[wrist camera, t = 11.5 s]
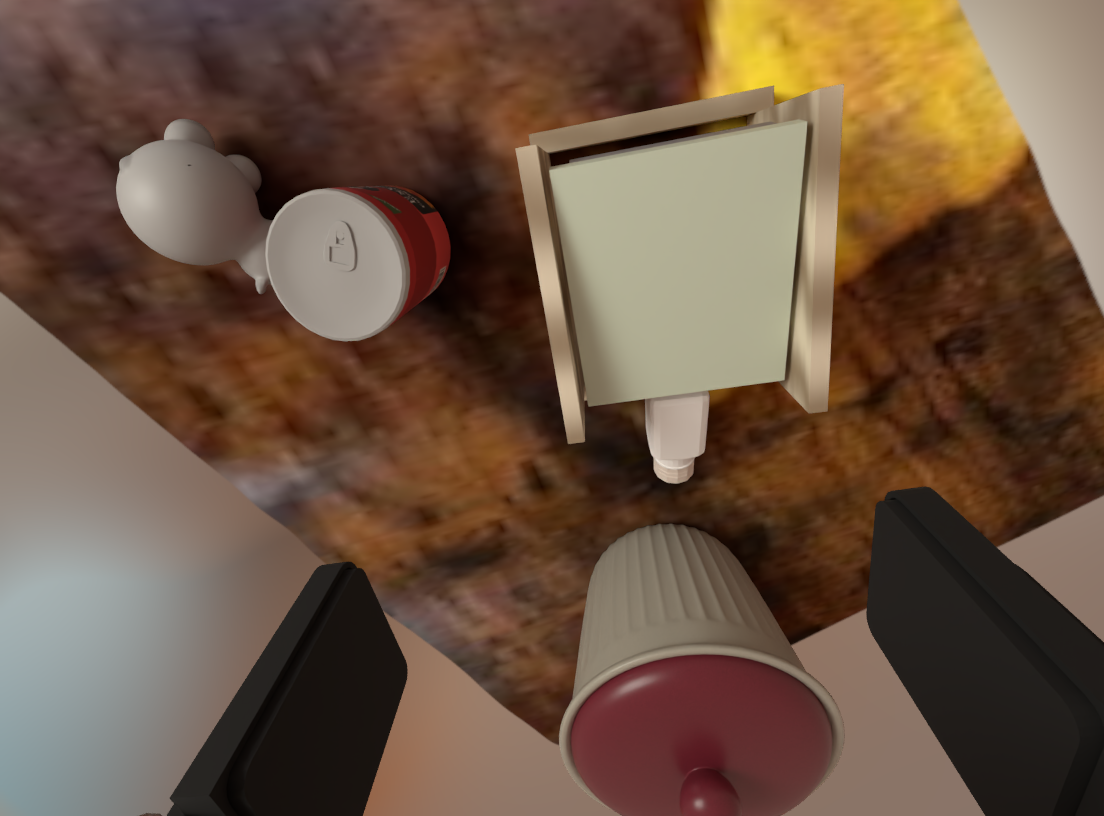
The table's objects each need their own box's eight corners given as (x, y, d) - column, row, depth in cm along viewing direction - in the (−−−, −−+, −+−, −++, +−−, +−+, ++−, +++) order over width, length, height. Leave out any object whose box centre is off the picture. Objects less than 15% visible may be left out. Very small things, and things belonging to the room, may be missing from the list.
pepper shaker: (651, 401, 34) (652, 490, 40) (712, 394, 34) (704, 485, 40) (643, 364, 37) (645, 452, 43) (699, 358, 37) (693, 448, 43)
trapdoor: (550, 163, 26) (549, 170, 25) (791, 117, 25) (807, 121, 23) (587, 389, 34) (588, 406, 33) (773, 363, 33) (784, 380, 31)
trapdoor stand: (531, 136, 34) (510, 119, 24) (763, 90, 32) (845, 51, 22) (573, 391, 41) (571, 461, 31) (764, 365, 39) (826, 429, 29)
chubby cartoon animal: (300, 288, 42) (280, 346, 35) (130, 180, 34) (68, 229, 28) (353, 223, 39) (341, 274, 33) (182, 93, 32) (127, 127, 26)
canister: (630, 664, 53) (657, 937, 34) (528, 548, 48) (492, 796, 29) (794, 594, 48) (933, 867, 29) (701, 454, 43) (799, 680, 24)
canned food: (445, 181, 35) (391, 183, 25) (460, 297, 38) (418, 339, 28) (337, 189, 36) (242, 193, 26) (362, 302, 39) (286, 346, 29)
